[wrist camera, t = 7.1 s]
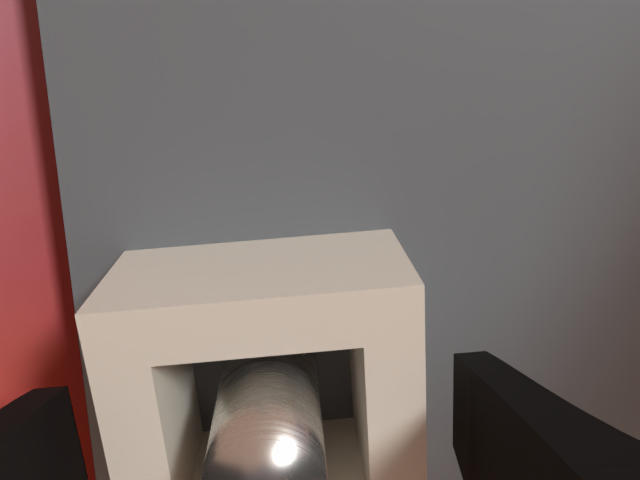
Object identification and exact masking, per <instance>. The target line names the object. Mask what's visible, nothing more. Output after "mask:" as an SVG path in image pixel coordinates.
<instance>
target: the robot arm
mask: <svg viewBox="0 0 640 480" xmlns="http://www.w3.org/2000/svg"><path fill="white" fill-rule="evenodd" d="M453 448H454V452H455V455H456V458H457V462H458V465H459V468H460V471H461V475H462V478H463V480H640V440H638V439H636V438H634V437H632V436H630V435H628V434H626V433H624V432H622V431H620V430H618V429H616V428H614V427H613V426H611V425H609V424H607V423H605V422H603V421H602V420H600V419H598V418H596V417H594V416H592V415H590V414H589V413H587V412H585V411H583V410H582V409H580V408H578V407H576V406H575V405H573V404H571V403H569V402H568V401H566V400H564V399H563V398H561V397H559V396H558V395H556V394H555V393H553V392H551V391H550V390H548V389H546V388H545V387H543V386H542V385H540V384H538V383H537V382H535V381H534V380H532V379H531V378H529V377H527V376H526V375H524V374H523V373H521V372H520V371H518V370H516V369H515V368H513V367H512V366H510V365H509V364H507V363H505V362H504V361H502V360H501V359H499V358H497V357H496V356H494V355H492V354H490V353H489V352H487V351H479V352H467V353H455V354H454V362H453ZM0 480H88V476H87V472H86V467H85V463H84V458H83V454H82V449H81V445H80V440H79V436H78V431H77V427H76V422H75V418H74V413H73V409H72V404H71V400H70V395H69V391H68V386H63V387H51V388H40V389H33V390H31V391H29V392H27V393H26V394H24V395H22V396H20V397H19V398H17V399H15V400H14V401H12V402H11V403H9V404H8V405H6V406H4V407H3V408H1V409H0Z"/></svg>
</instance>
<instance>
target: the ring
mask: <svg viewBox="0 0 640 480" xmlns="http://www.w3.org/2000/svg"><path fill="white" fill-rule="evenodd" d="M74 316H75V320H76V325H77V329H78V334H79V339H80V343H81V348H82V352H83V357H84V362H85V366H86V371H87V375H88V380H89V385H90V389H91V394H92V398H93V403H94V407H95V412H96V417H97V421H98V426H99V430H100V435H101V440H102V444H103V449H104V453H105V458H106V463H107V467H108V472H109V476H110V480H201V477H202V471H203V466H204V461H205V456H206V450H207V445H208V440H209V435H210V431H204V432H203V429H202V423H201V416H200V410H199V403H198V397H197V390H196V384H195V377H194V371H193V364H192V363H200V362H211V361H222V360H233V359H244V358H256V357H267V356H278V355H289V354H300V353H311V352H322V351H333V350H345V349H349V354H350V371H351V388H352V405H353V418H343V419H332V420H322V425H323V435H324V444H325V454H326V463H327V473H328V480H427V428H426V354H425V285H424V283H423V281H422V280H421V278H420V276H419V275H418V273H417V271H416V270H415V268H414V266H413V265H412V263H411V261H410V260H409V258H408V256H407V255H406V253H405V251H404V250H403V248H402V246H401V245H400V243H399V241H398V240H397V238H396V236H395V234H394V233H393V231H392V229H384V230H372V231H360V232H348V233H336V234H323V235H311V236H299V237H287V238H275V239H263V240H251V241H239V242H227V243H215V244H203V245H191V246H179V247H167V248H154V249H142V250H130V251H124V252H123V254H122V255H121V256H120V257H119V259H118V260H117V261H116V263H115V264H114V265H113V266H112V268H111V269H110V270H109V271H108V273H107V274H106V275H105V277H104V278H103V279H102V280H101V282H100V283H99V284H98V286H97V287H96V288H95V289H94V291H93V292H92V293H91V295H90V296H89V297H88V298H87V300H86V301H85V302H84V303H83V305H82V306H81V307H80V309H79V310H78V311H77V312H76V314H75V315H74Z"/></svg>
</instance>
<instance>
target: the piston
mask: <svg viewBox="0 0 640 480" xmlns="http://www.w3.org/2000/svg"><path fill="white" fill-rule="evenodd" d="M201 480H328V473H327V463H326V454H325V444H324V435H323V425H322V415H321V406H320V396H319V387H318V377H317V368H316V358H315V353H314V352H311V353H300V354H289V355H278V356H267V357H256V358H244V359H233V360H224V361H223V366H222V372H221V377H220V382H219V387H218V393H217V398H216V403H215V408H214V414H213V419H212V424H211V429H210V435H209V440H208V445H207V450H206V456H205V461H204V466H203V471H202V477H201Z"/></svg>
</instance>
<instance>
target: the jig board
mask: <svg viewBox="0 0 640 480" xmlns="http://www.w3.org/2000/svg"><path fill="white" fill-rule="evenodd" d="M36 4H37V12H38V20H39V28H40V36H41V44H42V52H43V60H44V68H45V76H46V84H47V92H48V100H49V108H50V116H51V124H52V132H53V140H54V148H55V156H56V164H57V172H58V180H59V188H60V196H61V204H62V212H63V220H64V228H65V236H66V244H67V252H68V260H69V268H70V276H71V284H72V292H73V300H74V308H75V314H76V312H77V311H78V310H79V309H80V307H81V306H82V305H83V303H84V302H85V301H86V300H87V298H88V297H89V296H90V295H91V293H92V292H93V291H94V289H95V288H96V287H97V286H98V284H99V283H100V282H101V280H102V279H103V278H104V277H105V275H106V274H107V273H108V271H109V270H110V269H111V268H112V266H113V265H114V264H115V263H116V261H117V260H118V259H119V257H120V256H121V255H122V254H123V252H124V251H130V250H142V249H154V248H167V247H179V246H191V245H203V244H215V243H227V242H239V241H251V240H263V239H275V238H287V237H299V236H311V235H323V234H336V233H348V232H360V231H372V230H384V229H392V231H393V233H394V234H395V236H396V238H397V240H398V241H399V243H400V245H401V246H402V248H403V250H404V251H405V253H406V255H407V256H408V258H409V260H410V261H411V263H412V265H413V266H414V268H415V270H416V271H417V273H418V275H419V276H420V278H421V280H422V281H423V283H424V285H425V354H426V428H427V480H463V478H462V475H461V471H460V468H459V465H458V462H457V458H456V455H455V452H454V448H453V362H454V354H455V353H467V352H479V351H487V352H489V353H490V354H492V355H494V356H496V357H497V358H499V359H501V360H502V361H504V362H505V363H507V364H509V365H510V366H512V367H513V368H515V369H516V370H518V371H520V372H521V373H523V374H524V375H526V376H527V377H529V378H531V379H532V380H534V381H535V382H537V383H538V384H540V385H542V386H543V387H545V388H546V389H548V390H550V391H551V392H553V393H555V394H556V395H558V396H559V397H561V398H563V399H564V400H566V401H568V402H569V403H571V404H573V405H575V406H576V407H578V408H580V409H582V410H583V411H585V412H587V413H589V414H590V415H592V416H594V417H596V418H598V419H600V420H602V421H603V422H605V423H607V424H609V425H611V426H613V427H614V428H616V429H618V430H620V431H622V432H624V433H626V434H628V435H630V436H632V437H634V438H636V439H638V440H640V0H36ZM77 332H78V329H77ZM78 340H79V348H80V356H81V364H82V372H83V380H84V388H85V397H86V405H87V413H88V421H89V429H90V437H91V445H92V453H93V461H94V469H95V477H96V480H110V476H109V472H108V467H107V463H106V458H105V453H104V449H103V444H102V440H101V435H100V430H99V426H98V421H97V417H96V412H95V407H94V403H93V398H92V394H91V389H90V385H89V380H88V375H87V371H86V366H85V362H84V357H83V352H82V348H81V343H80V339H79V334H78ZM314 353H315V358H316V368H317V377H318V387H319V396H320V406H321V415H322V420H332V419H343V418H353V405H352V388H351V371H350V354H349V349H345V350H333V351H322V352H314ZM223 361H224V360H222V361H211V362H200V363H192V364H193V371H194V377H195V384H196V390H197V397H198V403H199V410H200V416H201V423H202V429H203V432H204V431H210V429H211V424H212V419H213V414H214V408H215V403H216V398H217V393H218V387H219V382H220V377H221V372H222V366H223Z"/></svg>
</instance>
